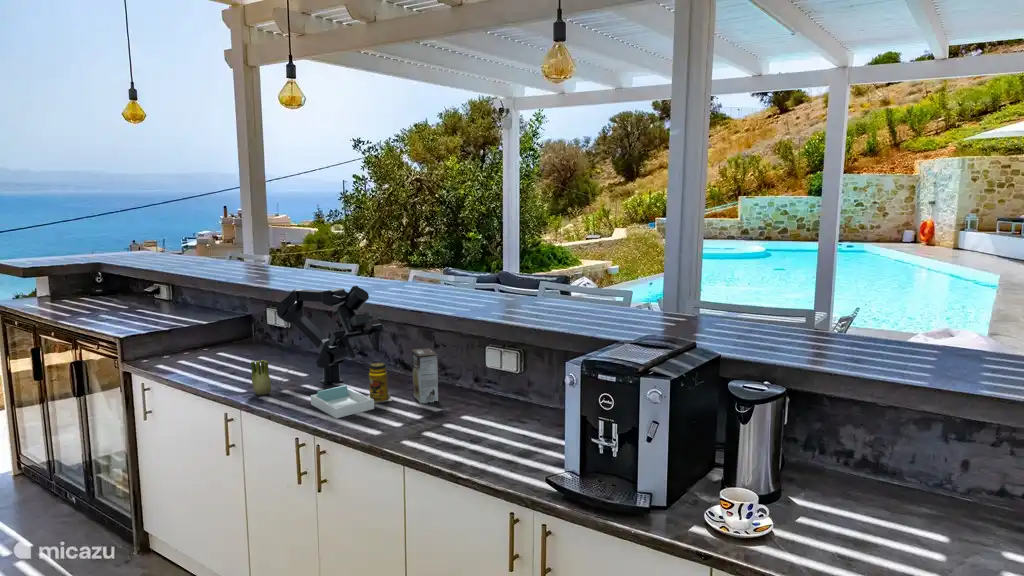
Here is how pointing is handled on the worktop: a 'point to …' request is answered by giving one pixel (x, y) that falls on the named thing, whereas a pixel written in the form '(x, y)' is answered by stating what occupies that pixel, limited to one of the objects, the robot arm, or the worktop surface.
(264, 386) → the fennel bulb
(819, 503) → the worktop surface
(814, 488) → the worktop surface
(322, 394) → the plate
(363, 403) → the pale mint tray
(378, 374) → the condiment
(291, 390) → the worktop surface
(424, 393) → the coffee box
